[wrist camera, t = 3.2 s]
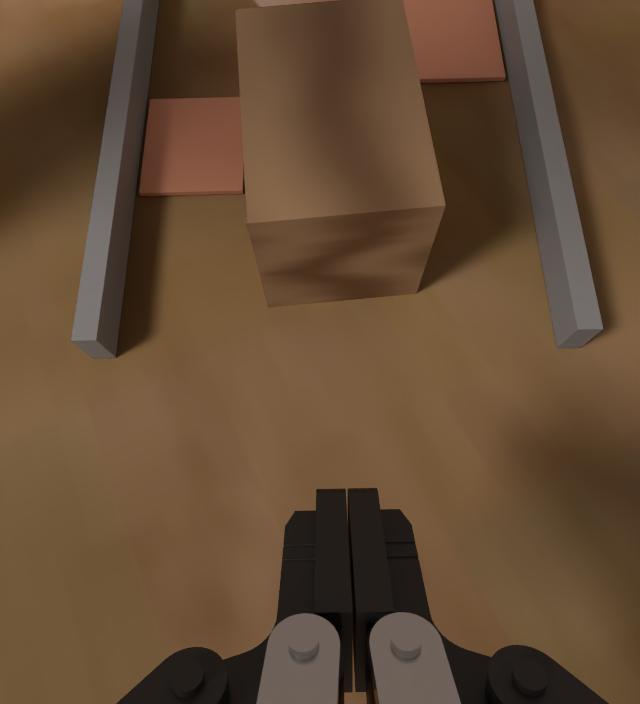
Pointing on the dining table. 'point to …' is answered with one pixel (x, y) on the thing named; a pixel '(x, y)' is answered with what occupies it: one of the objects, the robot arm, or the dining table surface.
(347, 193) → the walnut block
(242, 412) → the dining table surface
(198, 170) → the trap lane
